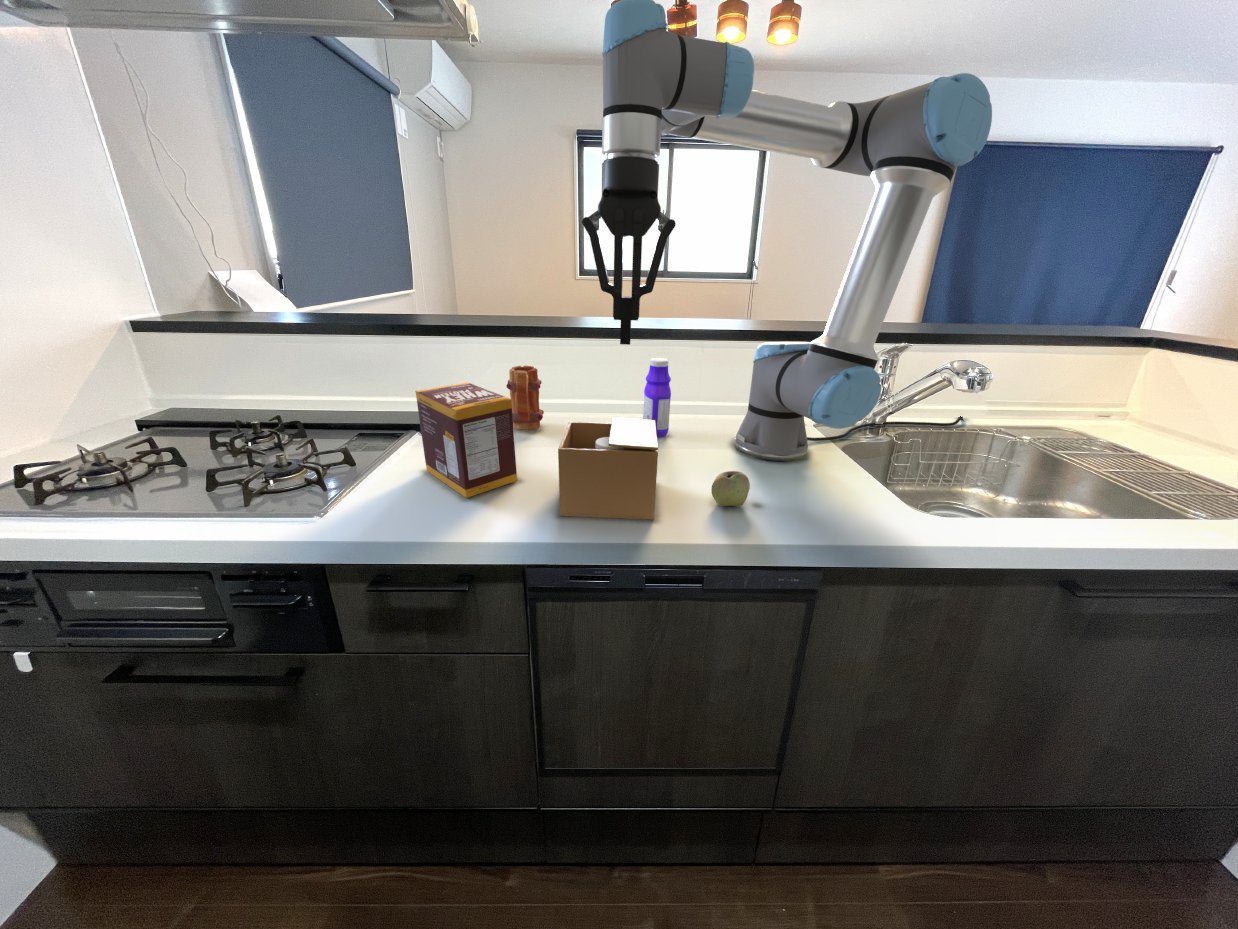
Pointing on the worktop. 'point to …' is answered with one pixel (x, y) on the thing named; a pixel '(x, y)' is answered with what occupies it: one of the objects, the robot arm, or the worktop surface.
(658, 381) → the bottle
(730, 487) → the apple
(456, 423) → the supplement box
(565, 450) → the carton
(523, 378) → the mug
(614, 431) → the flap
